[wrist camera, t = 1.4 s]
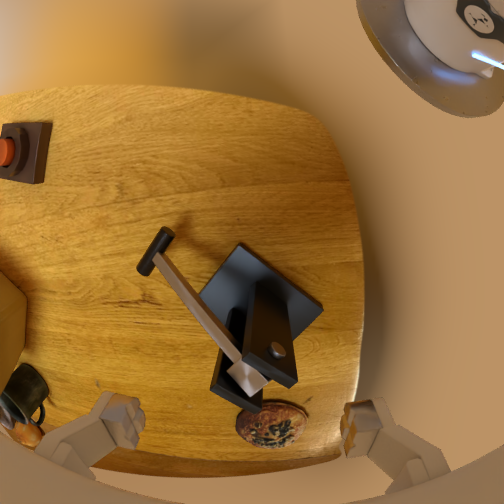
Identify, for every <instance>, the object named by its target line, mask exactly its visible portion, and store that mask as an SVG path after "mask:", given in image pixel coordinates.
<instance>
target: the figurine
mask: <svg viewBox="0 0 504 504" xmlns="http://www.w3.org/2000/svg"><path fill="white" fill-rule="evenodd" d="M15 420H16V419H15V418H13V417H12V416H11V415H10V414H9V413H8V412H7V411H6V409H5V408H4V407H3V406H2V404H1V403H0V422H1V423H2V424H3V425H4V426H5V427H7V428H8V429H9V430H12V429H13V428H14V427H15V422H16V421H15Z"/></svg>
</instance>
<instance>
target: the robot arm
mask: <svg viewBox="0 0 504 504" xmlns="http://www.w3.org/2000/svg"><path fill="white" fill-rule="evenodd" d="M403 1H404V5H405V11H406V15H407V18H408V20H409V22H410V24H411V26H412V28H413V30H414V31H415V33H416V35H417V36H418V37H419V39H420V40H421V41H422V43H423V44H424V45H425V46H426V47H427V48H428V49H429V50H430V51H431V52H432V53H433V54H434V55H435V56H436V57H437V58H438V59H440V60H441V61H442V62H444V63H445V64H447V65H448V66H450V67H452V68H453V69H456V70H458V71H461V72H467V73H476V74H478V75H479V76H481V77H483V78H485V79H489V78H491V77H492V75H493V70H494V67H495V66H497V67H500V68H502V69H504V65H502V63H504V0H403ZM139 406H140V401H139V399H138V398H136V397H131V396H126V395H122V394H118V393H113V392H108V391H105V392H103V393H102V394H101V396H100V398H99V399H98V401H97V402H96V404H95V405H94V407H93V408H92V410H91V412H90V413H89V415H86V414H85V415H83V416H81V417H79V418H77V419H75V420H73V421H71V422H69V423H67V424H65V425H63V426H61V427H59V428H57V429H55V430H53V431H50V432H48V433H46V434H45V436H44V437H43V439H42V440H41V442H40V443H39V445H38V446H37V448H36V449H35V451H34V452H33V451H31V450H29V449H27V448H26V447H24V446H22V445H21V444H19V443H17V442H16V441H14V440H12V439H11V438H9V437H8V436H6V435H5V434H3V433H1V432H0V504H183V503H177V502H171V501H166V500H162V499H157V498H153V497H148V496H144V495H140V494H137V493H133V492H129V491H126V490H123V489H119V488H116V487H113V486H110V485H107V484H104V483H101V482H99V481H96V480H95V479H96V477H95V475H94V474H93V473H92V471H91V470H90V469H89V467H90V466H92V465H93V464H95V463H96V462H97V461H99V460H100V459H101V458H103V457H104V456H106V455H107V454H108V453H110V452H111V451H112V450H114V449H115V448H116V447H117V446H120V447H124V448H128V449H133V450H135V448H136V446H137V443H138V441H139V439H140V438H139V436H138V434H139V433H140V432H142V431H143V429H144V427H145V420H146V419H145V414H144V411H143V410H142V409H141V408H139ZM344 412H345V414H344V415H343V416H342V417H341V421H340V431H341V436H342V438H343V439H344V440H346V441H345V444H344V449H345V453H346V457H347V458H351V457H359V456H365V455H367V456H368V458H370V459H371V460H372V461H373V462H374V463H375V464H376V465H377V466H378V467H380V468H381V469H382V470H383V471H384V472H385V473H386V474H387V475H389V476H390V477H391V478H392V479H393V480H394V481H393V482H392V483H391V485H390V486H389V488H388V489H387V490H386V491H385V494H386V495H382V496H378V497H374V498H369V499H365V500H360V501H355V502H350V503H344V504H504V445H502V446H500V447H499V448H497V449H495V450H494V451H492V452H490V453H488V454H486V455H485V456H483V457H481V458H479V459H477V460H475V461H473V462H471V463H469V464H467V465H465V466H463V467H461V468H458V469H456V470H454V471H452V472H451V470H450V468H449V466H448V464H447V462H446V460H445V458H444V456H443V453H442V452H441V449H439V448H437V447H435V446H433V445H432V444H430V443H428V442H427V441H425V440H423V439H422V438H420V437H418V436H417V435H415V434H413V433H412V432H410V431H408V430H407V429H405V428H403V427H402V426H400V425H396V424H395V422H394V420H393V418H392V415H391V413H390V411H389V409H388V406H387V405H386V402H385V400H384V398H376V399H370V400H362V401H356V402H348V403H346V404H345V406H344Z"/></svg>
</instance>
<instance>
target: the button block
mask: <svg viewBox="0 0 504 504" xmlns="http://www.w3.org/2000/svg"><path fill="white" fill-rule="evenodd" d="M51 129H52V124H51V123H7V124H3V126H2V131H1V136H0V139H13V140H14V142H15V147H16V150H15V157H14V159H13V161H12V163H11V164H10V165H7V166H0V178H2V179H7V180H13V181H18V182H23V183H29V184H39V183H43V182H44V173H45V165H46V158H47V151H48V145H49V139H50V134H51Z"/></svg>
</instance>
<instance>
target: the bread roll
mask: <svg viewBox="0 0 504 504" xmlns="http://www.w3.org/2000/svg"><path fill="white" fill-rule="evenodd" d="M307 423H308V418H307V416H306V415H305V413H304V412H303V410H300V409H298V408H297V407H294V406H292V405H290V404H285V403H280V402H266V403H262V410H261V411H259V412H258V413H257V414H255V415H254V414H252V413H250V412H248V411H246V410H244V411H242V412H241V413H239V415H238V417H237V419H236V431H237V433H238V434H239V435H240V436H241V437H242V438H243V439H244V440H246V441H247V442H249V443H251V444H252V445H254V446H256V447H260V448H267V449H277V448H282V447H285V446H288V445H290V444H292V443H294V442H295V440H296V439H298V438H299V436H300V435H302V432H303V431H304V430H305V428H306V425H307Z"/></svg>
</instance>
